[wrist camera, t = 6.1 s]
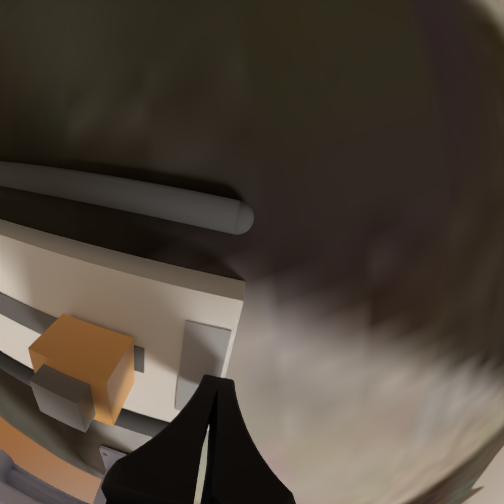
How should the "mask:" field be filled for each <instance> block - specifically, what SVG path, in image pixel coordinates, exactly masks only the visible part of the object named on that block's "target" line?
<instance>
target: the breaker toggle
mask: <svg viewBox="0 0 504 504" xmlns="http://www.w3.org/2000/svg"><path fill="white" fill-rule="evenodd" d="M28 351H29V355H30V358H31V362H32V366H33V369H34V373H35V374H34V375H33V376H32V378H31V379H30V380H29V381H30V384H31V387H32V390H33V393H34V395H35V398H36V401H37V403H38V406H39V409H40V411H41V412H43V413H45V414H47V415H49V416H51V417H53V418H55V419H57V420H59V421H61V422H63V423H65V424H67V425H69V426H71V427H73V428H76V429H78V430H80V431H82V432H85V433H86V432H87V430H88V428H89V426H90V424H91V422H92V420H93V419H95V420H97V421H100V422H102V423H105V424H107V425H110V426H114V424H115V422H116V420H117V417H118V415H119V413H120V411H121V409H122V407H123V405H124V403H125V401H126V399H127V397H128V394H129V392H130V390H131V388H132V386H133V384H134V338H133V337H130V336H127V335H124V334H121V333H117V332H114V331H111V330H108V329H105V328H102V327H99V326H96V325H93V324H91V323H88V322H85V321H82V320H80V319H77V318H74V317H71V316H69V315H66V314H62V315H61V316H60V317H59V318H58V319H57V320H56V321H55V322H54V323H53V324H52V325H51V326H50V327H49V328H48V329H47V330H46V331H45V332H44V333H43V334H42V335H40V336H39V337H38V338H37V339H36V340H35V341H34V342H33V343H32V344H31V345H30V346H29V347H28Z"/></svg>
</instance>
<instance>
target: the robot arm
mask: <svg viewBox="0 0 504 504" xmlns="http://www.w3.org/2000/svg"><path fill="white" fill-rule="evenodd" d="M208 426H209V435H208V452H207V466H206V473H205V480H204V486H203V492H202V498H201V504H296V503H295V500H294V497H293V494H292V492H291V491H290V490H289V489H288V488H287V487H286V486H285V485H284V484H283V483H282V482H281V481H280V480H279V479H278V478H277V476H276V475H275V474H274V473H273V472H272V470H271V469H270V468H269V466H268V465H267V463H266V462H265V461H264V459H263V458H262V456H261V455H260V453H259V451H258V450H257V448H256V446H255V444H254V442H253V441H252V439H251V437H250V434H249V432H248V430H247V428H246V425H245V423H244V420H243V417H242V414H241V411H240V408H239V405H238V401H237V397H236V392H235V385H234V381H233V380H231V379H226V378H221V377H216V376H212V375H207V374H205V375H203V377H202V380H201V382H200V384H199V386H198V388H197V389H196V391H195V393H194V394H193V396H192V397H191V398H190V400H189V401H188V403H187V404H186V405H185V406H184V408H183V409H182V410H181V411H180V412H179V414H178V415H177V416H176V417H175V418H174V419H173V420H172V421H171V422H170V423H169V424H168V425H167V426H166V427H165V428H164V429H163V430H162V431H160V432H159V433H158V434H157V435H156V436H155V437H153V438H152V439H151V440H149V441H148V442H146V443H145V444H144V445H142V446H141V447H139V448H138V449H136V450H134V451H133V452H131V453H129V454H124V453H121V452H118V451H116V450H113V449H110V448H108V447H105V446H100V449H99V450H100V453H101V457H102V460H103V463H104V466H105V469H106V471H105V474H104V476H103V478H102V481H101V483H100V486H99V489H98V491H97V494H96V496H95V499H94V502H93V504H194V498H195V491H196V484H197V477H198V471H199V464H200V458H201V452H202V447H203V443H204V440H205V436H206V433H207V430H208ZM0 504H89V503H86V502H84V501H81V500H80V499H77V498H75V497H73V496H71V495H69V494H67V493H65V492H63V491H61V490H59V489H57V488H55V487H53V486H51V485H50V484H48V483H46V482H44V481H42V480H41V479H39V478H37V477H35V476H34V475H32V474H30V473H29V472H27V471H26V470H24V469H22V468H21V467H19V466H18V465H16V464H15V463H14V461H13V460H12V458H11V457H10V456H9V455H8V454H7V453H6V452H4V451H3V450H2V449H0Z"/></svg>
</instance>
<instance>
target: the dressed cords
mask: <svg viewBox="0 0 504 504" xmlns="http://www.w3.org/2000/svg"><path fill="white" fill-rule="evenodd" d="M0 186H3V187H9V188H14V189H19V190H24V191H30V192H35V193H40V194H45V195H50V196H55V197H60V198H65V199H70V200H75V201H80V202H85V203H90V204H95V205H100V206H105V207H109V208H114V209H119V210H124V211H129V212H133V213H138V214H143V215H148V216H152V217H157V218H162V219H166V220H171V221H176V222H180V223H185V224H190V225H194V226H199V227H203V228H208V229H213V230H217V231H222V232H226V233H231V234H242V233H245V232H246V231H248V230H249V229H250V228H251V226H252V224H253V221H254V214H253V211H252V209H251V207H250V206H249V205H248V204H247V203H245V202H243V201H239V200H235V199H230V198H225V197H221V196H216V195H211V194H206V193H201V192H197V191H192V190H187V189H181V188H176V187H171V186H166V185H161V184H155V183H150V182H144V181H139V180H133V179H127V178H121V177H115V176H109V175H103V174H96V173H90V172H83V171H76V170H70V169H62V168H55V167H47V166H40V165H31V164H23V163H14V162H4V161H0ZM0 368H1V369H2V370H4V371H5V372H7V373H8V374H10V375H12V376H13V377H15V378H17V379H18V380H20V381H22V382H23V383H25V384H27V385H29V386H31V384H30V381H29V380H30V379H31V378H32V376H33V375H34V374H35V373H34V370H33V369H31V368H29V367H27V366H25V365H24V364H22V363H20V362H18V361H16V360H15V359H13V358H11V357H10V356H8V355H6V354H5V353H3V352H1V351H0ZM169 423H170V422H166V421H162V420H159V419H155V418H152V417H148V416H145V415H142V414H138V413H135V412H132V411H129V410H126V409H123V408H122V409H121V411H120V413H119V415H118V417H117V420H116V422H115V424H114V425H117V426H120V427H123V428H126V429H129V430H132V431H135V432H138V433H141V434H144V435H148V436H151V437H155V436H156V435H157V434H158V433H159V432H160V431H162V430H163V429H164V428H165V427H166V426H167V425H168V424H169Z"/></svg>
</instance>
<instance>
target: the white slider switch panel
mask: <svg viewBox="0 0 504 504" xmlns="http://www.w3.org/2000/svg"><path fill="white" fill-rule="evenodd" d="M245 283H246V281H241V280H236V279H232V278H227V277H223V276H218V275H214V274H210V273H205V272H201V271H197V270H192V269H188V268H184V267H179V266H175V265H171V264H167V263H163V262H158V261H154V260H150V259H146V258H142V257H138V256H134V255H130V254H126V253H122V252H118V251H114V250H110V249H106V248H103V247H99V246H95V245H91V244H87V243H84V242H80V241H76V240H72V239H69V238H65V237H61V236H58V235H54V234H50V233H47V232H43V231H40V230H36V229H33V228H29V227H26V226H22V225H19V224H15V223H12V222H8V221H5V220H2V219H0V351H2V352H4V353H5V354H7V355H9V356H10V357H12V358H14V359H15V360H17V361H19V362H21V363H23V364H24V365H26V366H28V367H30V368H32V369H33V366H32V362H31V358H30V355H29V351H28V347H29V346H30V345H31V344H32V343H33V342H34V341H35V340H36V339H37V338H38V337H39V336H40V335H42V334H43V333H44V332H45V331H46V330H47V329H48V328H49V327H50V326H51V325H52V324H53V323H54V322H55V321H56V320H57V319H58V318H59V317H60V316H61V315H62V314H66V315H69V316H71V317H74V318H77V319H80V320H82V321H85V322H88V323H91V324H93V325H96V326H99V327H102V328H105V329H108V330H111V331H114V332H117V333H121V334H124V335H127V336H130V337H133V338H134V384H133V386H132V388H131V390H130V392H129V394H128V397H127V399H126V401H125V403H124V405H123V407H122V408H125V409H128V410H131V411H134V412H137V413H140V414H143V415H147V416H150V417H153V418H157V419H160V420H164V421H168V422H171V421H172V420H173V419H174V418H175V417H176V416H177V415H178V414H179V412H180V411H181V410H182V409H183V408H184V406H185V405H186V404H187V403H188V401H189V400H190V398H191V397H192V396H193V394H194V393H195V391H196V389H197V388H198V386H199V384H200V382H201V380H202V377H203V375H205V374H207V375H212V376H216V377H221V378H225V375H226V371H227V367H228V363H229V359H230V355H231V351H232V347H233V342H234V338H235V334H236V330H237V326H238V322H239V318H240V314H241V310H242V306H243V302H244V292H245ZM207 431H209V426H208V430H207Z"/></svg>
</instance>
